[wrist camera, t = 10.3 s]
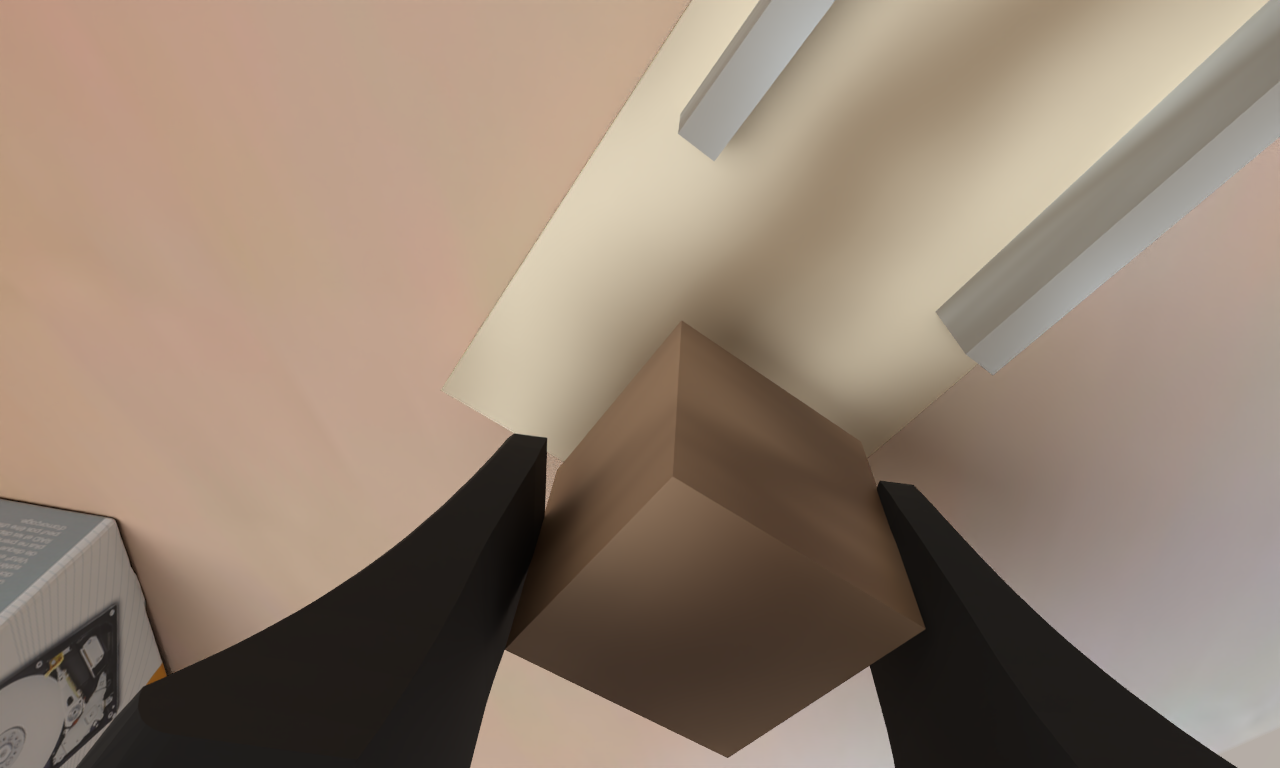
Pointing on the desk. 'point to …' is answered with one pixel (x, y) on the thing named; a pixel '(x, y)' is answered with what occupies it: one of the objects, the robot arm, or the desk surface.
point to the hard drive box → (66, 634)
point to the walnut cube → (713, 554)
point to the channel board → (872, 196)
